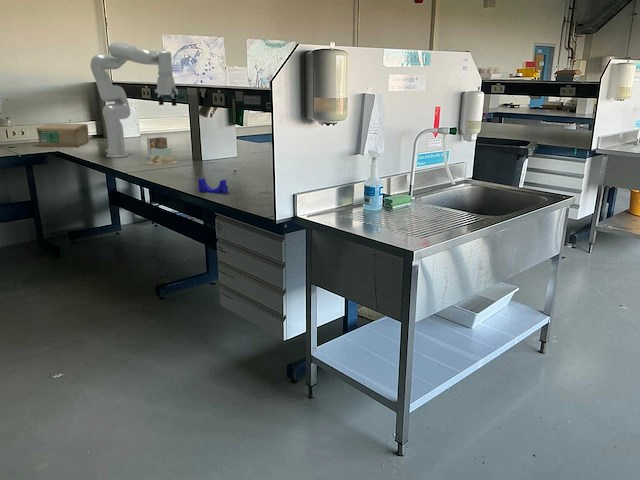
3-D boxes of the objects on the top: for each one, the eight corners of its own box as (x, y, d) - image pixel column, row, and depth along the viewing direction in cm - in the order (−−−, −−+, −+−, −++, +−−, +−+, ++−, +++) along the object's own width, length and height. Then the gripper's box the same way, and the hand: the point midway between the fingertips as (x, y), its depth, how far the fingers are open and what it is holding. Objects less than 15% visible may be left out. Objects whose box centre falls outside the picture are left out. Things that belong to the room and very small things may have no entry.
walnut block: (154, 148, 302) (153, 137, 301) (160, 147, 307) (159, 137, 305) (161, 149, 300) (160, 138, 298) (167, 148, 305) (166, 137, 303)
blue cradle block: (228, 192, 237) (227, 179, 235) (223, 194, 232) (223, 180, 231) (203, 190, 240) (203, 177, 238) (199, 192, 236) (198, 179, 234)
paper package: (37, 147, 360) (34, 126, 355) (51, 142, 384) (48, 123, 380) (79, 147, 363) (76, 126, 359) (89, 142, 387) (87, 123, 383)
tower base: (150, 162, 304) (150, 155, 303) (161, 160, 312) (161, 153, 310) (162, 163, 300) (162, 156, 299) (173, 161, 308) (173, 154, 307)
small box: (151, 160, 316) (149, 138, 312) (148, 158, 321) (146, 137, 317) (164, 159, 320) (162, 137, 316) (161, 157, 325) (159, 136, 321)
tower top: (151, 155, 303) (150, 148, 302) (161, 153, 310) (160, 147, 309) (162, 156, 300) (161, 149, 298) (171, 154, 306) (171, 148, 305)
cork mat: (144, 163, 303) (144, 162, 303) (161, 160, 315) (161, 159, 315) (163, 166, 297) (163, 164, 297) (179, 162, 309) (179, 161, 309)
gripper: (149, 73, 300) (151, 104, 305) (172, 74, 292) (175, 106, 298) (158, 74, 306) (160, 104, 311) (182, 74, 299) (183, 105, 304)
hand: (167, 105), depth 304 cm, fingers open, 9 cm apart
